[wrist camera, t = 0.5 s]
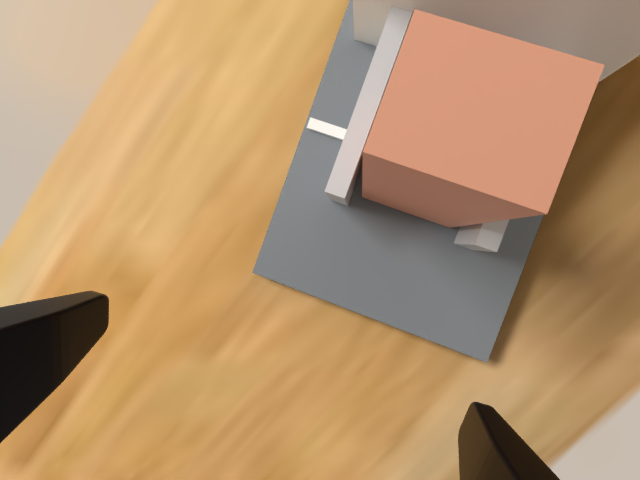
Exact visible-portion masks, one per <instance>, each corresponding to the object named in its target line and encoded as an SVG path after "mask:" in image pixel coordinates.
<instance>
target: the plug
mask: <svg viewBox="0 0 640 480" xmlns="http://www.w3.org/2000/svg"><path fill="white" fill-rule="evenodd" d="M604 66H605V65H604V64H600V63H597V62H593V61H590V60H587V59H583V58H580V57H576V56H573V55H570V54H566V53H563V52H559V51H556V50H553V49H549V48H546V47H542V46H539V45H536V44H532V43H529V42H525V41H522V40H518V39H515V38H512V37H508V36H505V35H501V34H498V33H495V32H491V31H488V30H484V29H481V28H478V27H474V26H471V25H467V24H464V23H461V22H457V21H454V20H450V19H447V18H444V17H440V16H437V15H433V14H430V13H427V12H423V11H420V10H416V9H415V10H414V12H413V15H412V18H411V21H410V23H409V26H408V29H407V32H406V34H405V37H404V40H403V43H402V45H401V48H400V51H399V54H398V56H397V59H396V62H395V65H394V67H393V70H392V73H391V76H390V78H389V81H388V84H387V87H386V89H385V92H384V95H383V98H382V100H381V103H380V106H379V109H378V111H377V114H376V117H375V120H374V122H373V125H372V128H371V131H370V133H369V136H368V139H367V142H366V144H365V147H364V150H363V167H362V197H363V198H366V199H368V200H371V201H374V202H377V203H380V204H383V205H385V206H388V207H391V208H394V209H397V210H400V211H403V212H405V213H408V214H411V215H414V216H417V217H420V218H423V219H425V220H428V221H431V222H434V223H437V224H440V225H442V226H445V227H448V228H452V227H459V226H466V225H473V224H480V223H488V222H495V221H502V220H509V219H516V218H523V217H531V216H538V215H545V214H548V211H549V208H550V206H551V203H552V201H553V198H554V195H555V193H556V190H557V188H558V185H559V182H560V180H561V177H562V175H563V172H564V169H565V167H566V164H567V162H568V159H569V156H570V154H571V151H572V149H573V146H574V144H575V141H576V138H577V136H578V133H579V131H580V128H581V125H582V123H583V120H584V118H585V115H586V112H587V110H588V107H589V105H590V102H591V99H592V97H593V94H594V92H595V89H596V86H597V84H598V81H599V79H600V76H601V73H602V71H603V68H604Z"/></svg>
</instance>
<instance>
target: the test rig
mask: <svg viewBox="0 0 640 480" xmlns="http://www.w3.org/2000/svg"><path fill="white" fill-rule="evenodd" d="M415 9H416V10H420V11H423V12H427V13H430V14H433V15H437V16H440V17H444V18H447V19H450V20H454V21H457V22H461V23H464V24H467V25H471V26H474V27H478V28H481V29H484V30H488V31H491V32H495V33H498V34H501V35H505V36H508V37H512V38H515V39H518V40H522V41H525V42H529V43H532V44H536V45H539V46H542V47H546V48H549V49H553V50H556V51H559V52H563V53H566V54H570V55H573V56H576V57H580V58H583V59H587V60H590V61H593V62H597V63H600V64H604V65H605V66H604V68H603V71H602V73H601V76H600V79H599V81H598V83H599V82H600V81H602V80H603V79H605V78H606V77H608V76H609V75H611V74H612V73H614V72H615V71H617V70H618V69H620V68H621V67H623V66H624V65H626V64H627V63H629V62H630V61H632V60H633V59H635V58H636V57H638V56H639V55H640V0H350V1H349V4H348V7H347V9H346V12H345V15H344V18H343V21H342V23H341V26H340V29H339V32H338V35H337V37H336V40H335V43H334V46H333V49H332V51H331V54H330V57H329V60H328V63H327V65H326V68H325V71H324V74H323V77H322V79H321V82H320V85H319V88H318V91H317V93H316V96H315V99H314V102H313V105H312V107H311V110H310V113H309V116H308V119H307V121H306V124H305V127H304V130H303V133H302V135H301V138H300V141H299V144H298V147H297V149H296V152H295V155H294V158H293V161H292V163H291V166H290V169H289V172H288V175H287V177H286V180H285V183H284V186H283V189H282V191H281V194H280V197H279V200H278V203H277V205H276V208H275V211H274V214H273V217H272V219H271V222H270V225H269V228H268V231H267V233H266V236H265V239H264V242H263V245H262V247H261V250H260V253H259V256H258V259H257V261H256V264H255V267H254V270H253V273H255V274H257V275H260V276H262V277H265V278H268V279H270V280H273V281H275V282H278V283H281V284H283V285H286V286H288V287H291V288H294V289H296V290H299V291H301V292H304V293H307V294H309V295H312V296H315V297H317V298H320V299H322V300H325V301H328V302H330V303H333V304H335V305H338V306H341V307H343V308H346V309H348V310H351V311H354V312H356V313H359V314H361V315H364V316H367V317H369V318H372V319H374V320H377V321H380V322H382V323H385V324H388V325H390V326H393V327H395V328H398V329H401V330H403V331H406V332H408V333H411V334H414V335H416V336H419V337H421V338H424V339H427V340H429V341H432V342H434V343H437V344H440V345H442V346H445V347H447V348H450V349H453V350H455V351H458V352H460V353H463V354H466V355H468V356H471V357H474V358H476V359H479V360H481V361H484V362H488V359H489V356H490V354H491V351H492V349H493V346H494V343H495V341H496V338H497V336H498V333H499V330H500V328H501V325H502V323H503V320H504V317H505V315H506V312H507V310H508V307H509V304H510V302H511V299H512V297H513V294H514V291H515V289H516V286H517V284H518V281H519V278H520V276H521V273H522V271H523V268H524V265H525V263H526V260H527V258H528V255H529V252H530V250H531V247H532V245H533V242H534V239H535V237H536V234H537V232H538V229H539V226H540V224H541V221H542V219H543V216H544V215H538V216H531V217H523V218H516V219H509V220H502V221H495V222H488V223H480V224H473V225H466V226H459V227H452V228H448V227H445V226H442V225H440V224H437V223H434V222H431V221H428V220H425V219H423V218H420V217H417V216H414V215H411V214H408V213H405V212H403V211H400V210H397V209H394V208H391V207H388V206H385V205H383V204H380V203H377V202H374V201H371V200H368V199H366V198H363V197H362V167H363V150H364V147H365V144H366V142H367V139H368V136H369V133H370V131H371V128H372V125H373V122H374V120H375V117H376V114H377V111H378V109H379V106H380V103H381V100H382V98H383V95H384V92H385V89H386V87H387V84H388V81H389V78H390V76H391V73H392V70H393V67H394V65H395V62H396V59H397V56H398V54H399V51H400V48H401V45H402V43H403V40H404V37H405V34H406V32H407V29H408V26H409V23H410V21H411V18H412V15H413V12H414V10H415Z"/></svg>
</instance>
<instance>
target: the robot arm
mask: <svg viewBox="0 0 640 480" xmlns="http://www.w3.org/2000/svg"><path fill="white" fill-rule="evenodd" d="M108 323H109V299H108V297H107V296H106V295H105V294H102V293H98V292H95V291H86V292H81V293H75V294H70V295H65V296H59V297H54V298H48V299H43V300H37V301H32V302H27V303H21V304H16V305H10V306H5V307H0V443H1V442H2V441H3V440H4V439H5V438H6V437H7V436H8V435H9V434H10V433H11V432H12V431H13V430H14V429H15V428H16V427H17V426H18V425H19V424H20V423H21V422H22V421H23V420H25V419H26V418H27V417H28V416H29V415H30V414H31V413H32V412H33V411H34V410H35V409H36V408H37V407H38V406H39V405H40V404H41V403H42V402H43V401H44V400H45V399H46V398H47V397H48V396H49V395H50V394H51V393H52V392H53V391H54V390H55V389H56V388H57V387H58V386H59V385H60V384H61V383H62V382H63V381H64V380H65V379H66V378H67V376H68V375H69V374H70V373H71V372H72V371H73V370H74V368H75V367H76V366H77V365H78V364H79V362H80V361H81V360H82V359H83V358H84V357H85V355H86V354H87V353H88V352H89V351H90V350H91V348H92V347H93V346H94V345H95V344H96V343H97V341H98V340H99V339H100V338H101V337H102V335H103V334H104V333H105V331H106V330H107V327H108ZM458 447H459V471H460V480H560V479H559V478H558V477H557V476H556V475H555V474H554V473H553V472H552V470H551V469H550V468H549V467H548V466H547V465H546V464H545V463H544V462H543V461H542V460H541V459H540V458H539V457H538V455H537V454H536V453H535V452H534V451H533V450H532V449H531V448H530V447H529V446H528V445H527V444H526V443H525V441H524V440H523V439H522V438H521V437H520V436H519V435H518V434H517V433H516V432H515V431H514V430H513V429H512V427H511V426H510V425H509V424H508V423H507V422H506V421H505V420H504V419H503V418H502V417H501V416H500V415H499V414H498V412H497V411H496V410H495V409H494V408H493V407H491V406H489V405H485V404H482V403H478V402H473V403H471V405H470V406H469V408H468V411H467V413H466V415H465V418H464V420H463V422H462V425H461V427H460V430H459V435H458Z"/></svg>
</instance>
